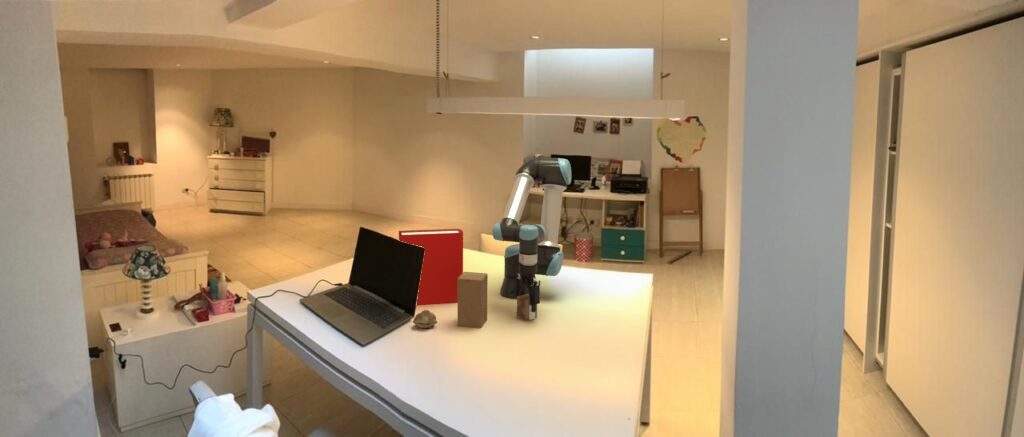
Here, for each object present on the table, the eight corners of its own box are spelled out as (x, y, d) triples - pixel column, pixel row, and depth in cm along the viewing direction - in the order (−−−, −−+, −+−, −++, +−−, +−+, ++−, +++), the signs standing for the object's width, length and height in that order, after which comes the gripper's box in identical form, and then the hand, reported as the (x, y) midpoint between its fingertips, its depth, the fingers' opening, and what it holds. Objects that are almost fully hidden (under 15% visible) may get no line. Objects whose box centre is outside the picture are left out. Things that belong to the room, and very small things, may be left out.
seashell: (437, 331, 246) (435, 322, 254) (438, 314, 244) (435, 306, 252) (414, 332, 244) (411, 323, 251) (414, 315, 242) (412, 307, 249)
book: (401, 306, 271) (400, 234, 265) (400, 300, 279) (398, 230, 273) (463, 302, 278) (463, 232, 272) (460, 296, 286) (460, 228, 279)
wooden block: (481, 328, 248) (481, 280, 244) (457, 326, 250) (457, 278, 246) (487, 319, 258) (487, 273, 254) (463, 317, 260) (464, 271, 256)
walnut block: (516, 316, 262) (517, 296, 260) (527, 314, 265) (528, 293, 263) (525, 321, 257) (526, 300, 255) (536, 318, 261) (537, 297, 259)
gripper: (506, 259, 261) (505, 311, 266) (536, 269, 247) (534, 325, 251) (520, 256, 266) (519, 308, 271) (550, 266, 251) (548, 321, 256)
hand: (526, 316), depth 261 cm, fingers closed on walnut block, 6 cm apart
